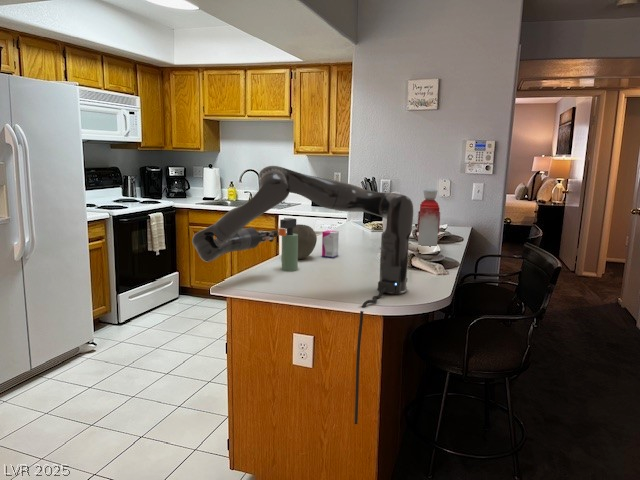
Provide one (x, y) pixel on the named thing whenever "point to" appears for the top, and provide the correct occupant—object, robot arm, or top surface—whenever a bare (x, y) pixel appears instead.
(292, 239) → the spray bottle
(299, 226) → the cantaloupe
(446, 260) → the top surface
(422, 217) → the bottle
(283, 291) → the top surface
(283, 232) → the trigger
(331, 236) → the supplement box
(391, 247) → the robot arm
